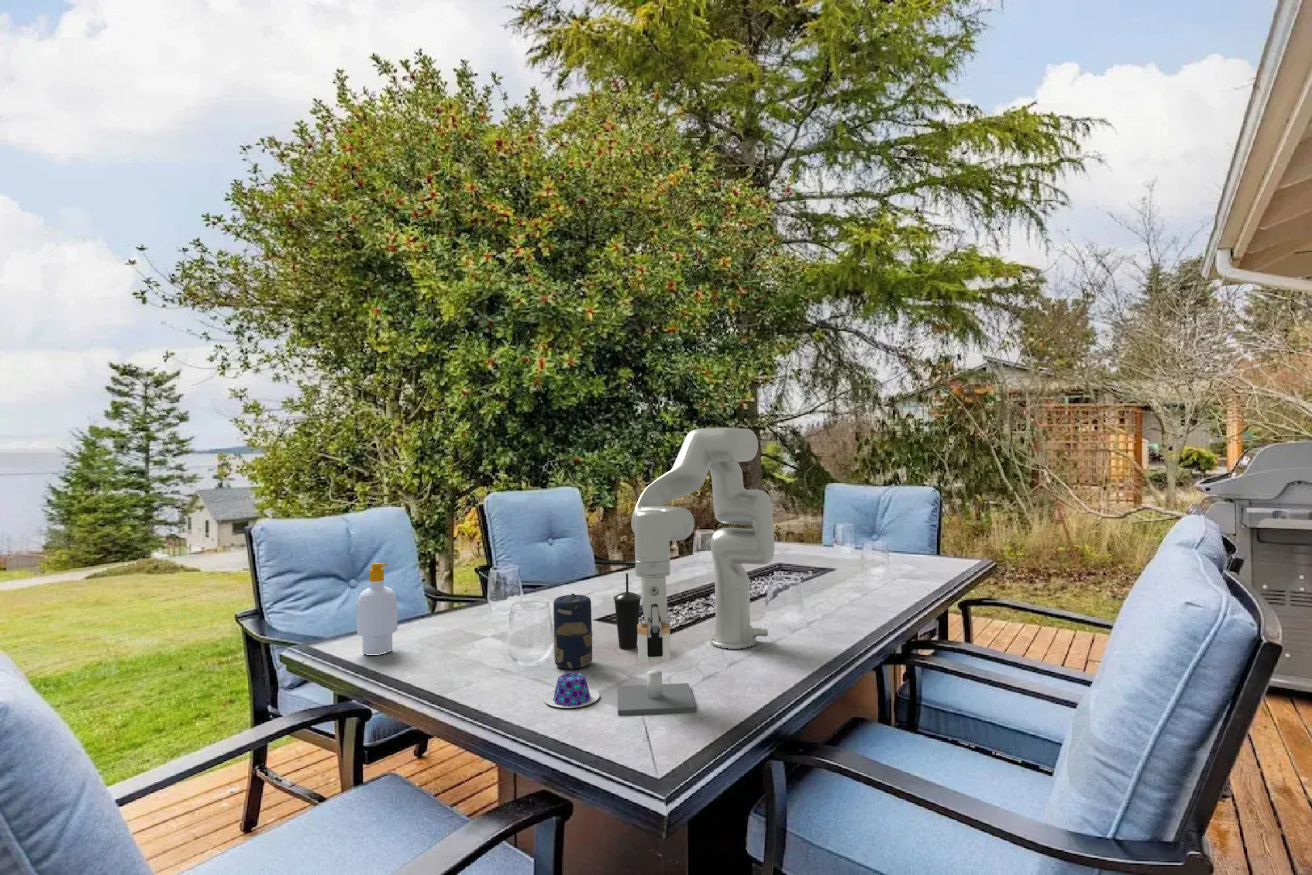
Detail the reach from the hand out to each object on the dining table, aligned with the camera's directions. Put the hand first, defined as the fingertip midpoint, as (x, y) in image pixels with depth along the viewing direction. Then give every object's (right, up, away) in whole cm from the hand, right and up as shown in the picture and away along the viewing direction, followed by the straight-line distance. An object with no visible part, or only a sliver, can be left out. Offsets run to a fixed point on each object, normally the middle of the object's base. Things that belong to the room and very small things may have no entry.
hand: (654, 650), depth 146 cm
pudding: (-18, -12, +2) cm, 21 cm away
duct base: (0, -11, 0) cm, 11 cm away
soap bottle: (-75, -13, +38) cm, 85 cm away
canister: (-20, -12, +25) cm, 34 cm away
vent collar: (0, -2, 0) cm, 2 cm away
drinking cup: (-7, -12, +39) cm, 42 cm away
